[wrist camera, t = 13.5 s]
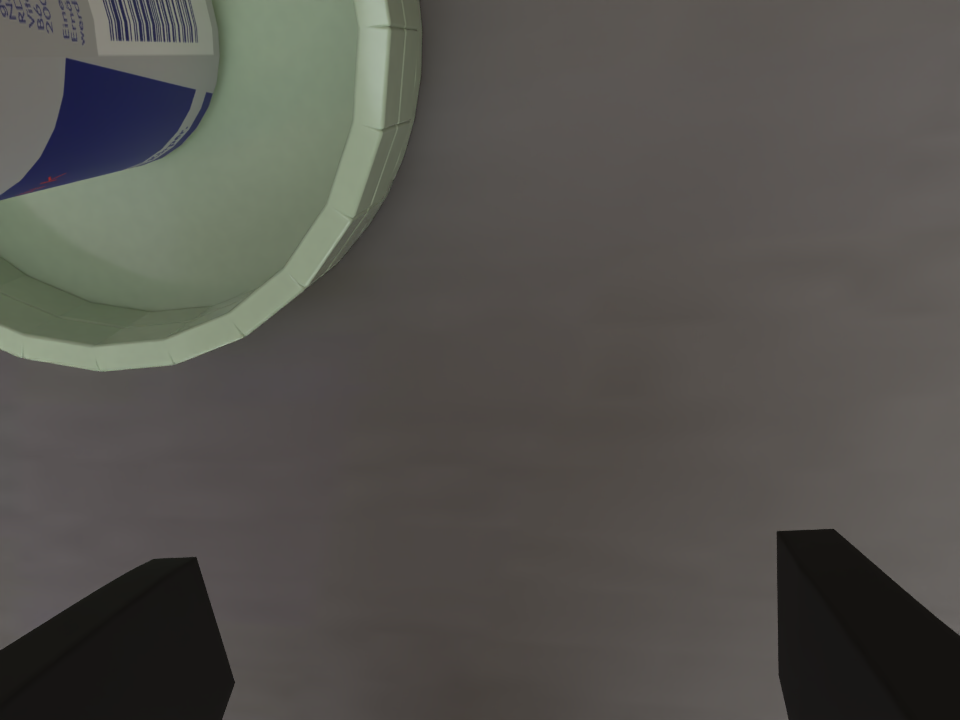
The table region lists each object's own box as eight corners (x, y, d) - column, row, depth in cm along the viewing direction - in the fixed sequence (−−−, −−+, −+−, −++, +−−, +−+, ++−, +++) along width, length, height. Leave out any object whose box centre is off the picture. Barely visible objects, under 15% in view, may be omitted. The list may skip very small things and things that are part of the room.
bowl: (466, 297, 18) (443, 342, 15) (-34, 347, 20) (-132, 393, 18) (356, -431, 14) (295, -554, 11) (-268, -264, 16) (-449, -330, 13)
